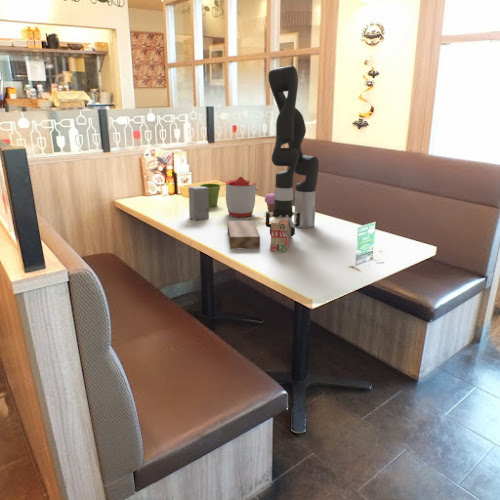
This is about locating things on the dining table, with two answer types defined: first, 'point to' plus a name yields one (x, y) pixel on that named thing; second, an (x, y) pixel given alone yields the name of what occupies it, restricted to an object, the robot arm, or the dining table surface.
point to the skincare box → (199, 203)
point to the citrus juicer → (240, 197)
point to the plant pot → (213, 193)
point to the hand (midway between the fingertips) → (282, 236)
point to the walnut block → (243, 234)
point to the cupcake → (270, 201)
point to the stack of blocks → (280, 234)
